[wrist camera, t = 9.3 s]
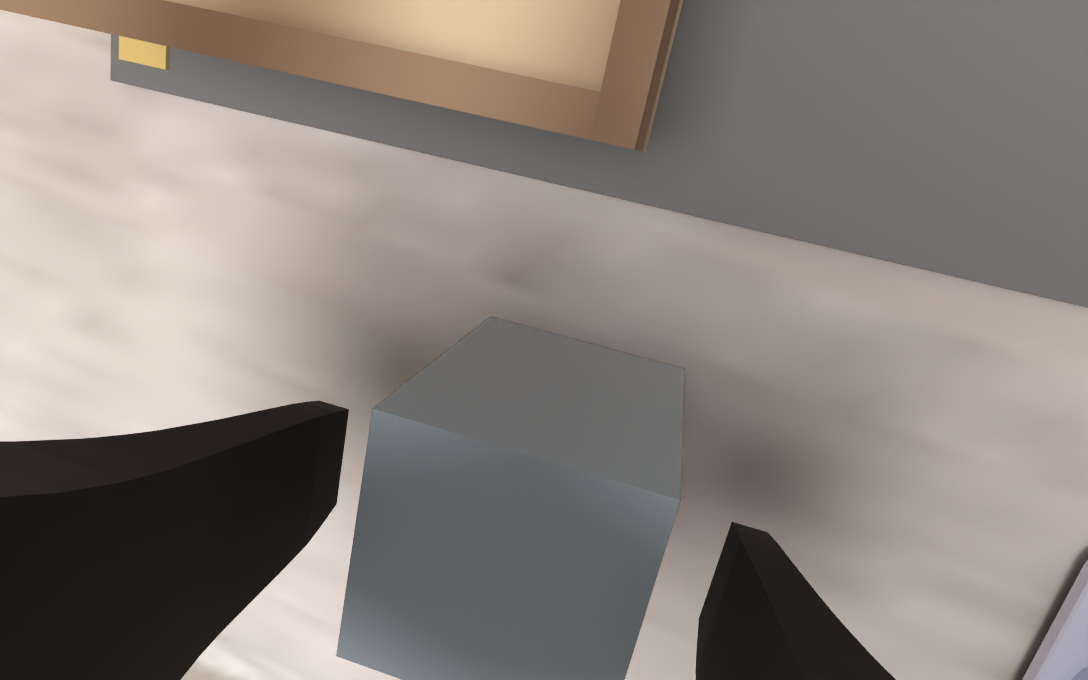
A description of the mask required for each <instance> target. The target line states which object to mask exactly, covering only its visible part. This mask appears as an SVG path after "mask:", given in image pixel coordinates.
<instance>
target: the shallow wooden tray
mask: <svg viewBox="0 0 1088 680" xmlns="http://www.w3.org/2000/svg"><path fill="white" fill-rule="evenodd" d="M682 3H683V0H0V9H1V10H5V11H10V12H14V13H19V14H23V15H28V16H32V17H37V18H41V19H46V20H50V21H55V22H59V23H64V24H68V25H73V26H77V27H82V28H86V29H91V30H95V31H100V32H105V33H109V34H114V35H118V36H123V37H127V38H132V39H136V40H141V41H145V42H150V43H154V44H159V45H163V46H168V47H172V48H177V49H181V50H186V51H190V52H195V53H199V54H204V55H208V56H213V57H218V58H222V59H227V60H231V61H236V62H240V63H245V64H249V65H254V66H258V67H263V68H267V69H272V70H276V71H281V72H285V73H290V74H294V75H299V76H303V77H308V78H312V79H317V80H322V81H326V82H331V83H335V84H340V85H344V86H349V87H353V88H358V89H362V90H367V91H371V92H376V93H380V94H385V95H389V96H394V97H398V98H403V99H407V100H412V101H416V102H421V103H425V104H430V105H435V106H439V107H444V108H448V109H453V110H457V111H462V112H466V113H471V114H475V115H480V116H484V117H489V118H493V119H498V120H502V121H507V122H511V123H516V124H520V125H525V126H529V127H534V128H539V129H543V130H548V131H552V132H557V133H561V134H566V135H570V136H575V137H579V138H584V139H588V140H593V141H597V142H602V143H606V144H611V145H615V146H620V147H624V148H629V149H633V150H638V151H643V152H646V149H647V145H648V141H649V137H650V132H651V128H652V124H653V120H654V116H655V112H656V108H657V104H658V100H659V96H660V92H661V88H662V84H663V80H664V76H665V72H666V68H667V64H668V60H669V56H670V52H671V48H672V44H673V39H674V35H675V31H676V27H677V23H678V19H679V15H680V11H681V7H682Z"/></svg>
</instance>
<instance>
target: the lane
mask: <svg viewBox="0 0 1088 680" xmlns="http://www.w3.org/2000/svg"><path fill="white" fill-rule="evenodd" d="M111 80H112V81H116V82H121V83H125V84H129V85H134V86H138V87H142V88H147V89H151V90H155V91H159V92H164V93H168V94H172V95H177V96H181V97H185V98H190V99H194V100H198V101H202V102H207V103H211V104H215V105H220V106H224V107H228V108H233V109H237V110H241V111H245V112H250V113H254V114H258V115H263V116H267V117H271V118H276V119H280V120H284V121H288V122H293V123H297V124H301V125H306V126H310V127H314V128H319V129H323V130H327V131H331V132H336V133H340V134H344V135H349V136H353V137H357V138H362V139H366V140H370V141H374V142H379V143H383V144H387V145H392V146H396V147H400V148H405V149H409V150H413V151H417V152H422V153H426V154H430V155H435V156H439V157H443V158H448V159H452V160H456V161H460V162H465V163H469V164H473V165H478V166H482V167H486V168H491V169H495V170H499V171H504V172H508V173H512V174H516V175H521V176H525V177H529V178H534V179H538V180H542V181H547V182H551V183H555V184H559V185H564V186H568V187H572V188H577V189H581V190H585V191H590V192H594V193H598V194H602V195H607V196H611V197H615V198H620V199H624V200H628V201H633V202H637V203H641V204H645V205H650V206H654V207H658V208H663V209H667V210H671V211H676V212H680V213H684V214H688V215H693V216H697V217H701V218H706V219H710V220H714V221H719V222H723V223H727V224H731V225H736V226H740V227H744V228H749V229H753V230H757V231H762V232H766V233H770V234H774V235H779V236H783V237H787V238H792V239H796V240H800V241H805V242H809V243H813V244H817V245H822V246H826V247H830V248H835V249H839V250H843V251H848V252H852V253H856V254H860V255H865V256H869V257H873V258H878V259H882V260H886V261H891V262H895V263H899V264H903V265H908V266H912V267H916V268H921V269H925V270H929V271H934V272H938V273H942V274H946V275H951V276H955V277H959V278H964V279H968V280H972V281H977V282H981V283H985V284H989V285H994V286H998V287H1002V288H1007V289H1011V290H1015V291H1020V292H1024V293H1028V294H1032V295H1037V296H1041V297H1045V298H1050V299H1054V300H1058V301H1063V302H1067V303H1071V304H1075V305H1080V306H1084V307H1088V0H683V3H682V7H681V11H680V15H679V19H678V23H677V27H676V31H675V35H674V39H673V44H672V48H671V52H670V56H669V60H668V64H667V68H666V72H665V76H664V80H663V84H662V88H661V92H660V96H659V100H658V104H657V108H656V112H655V116H654V120H653V124H652V128H651V132H650V137H649V141H648V145H647V149H646V152H643V151H638V150H633V149H629V148H624V147H620V146H615V145H611V144H606V143H602V142H597V141H593V140H588V139H584V138H579V137H575V136H570V135H566V134H561V133H557V132H552V131H548V130H543V129H539V128H534V127H529V126H525V125H520V124H516V123H511V122H507V121H502V120H498V119H493V118H489V117H484V116H480V115H475V114H471V113H466V112H462V111H457V110H453V109H448V108H444V107H439V106H435V105H430V104H425V103H421V102H416V101H412V100H407V99H403V98H398V97H394V96H389V95H385V94H380V93H376V92H371V91H367V90H362V89H358V88H353V87H349V86H344V85H340V84H335V83H331V82H326V81H322V80H317V79H312V78H308V77H303V76H299V75H294V74H290V73H285V72H281V71H276V70H272V69H267V68H263V67H258V66H254V65H249V64H245V63H240V62H236V61H231V60H227V59H222V58H218V57H213V56H208V55H204V54H199V53H195V52H190V51H186V50H181V49H177V48H172V47H168V46H163V45H159V44H154V43H150V42H145V41H141V40H136V39H132V38H127V37H123V36H118V35H114V34H111Z"/></svg>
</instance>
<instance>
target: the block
mask: <svg viewBox="0 0 1088 680" xmlns="http://www.w3.org/2000/svg"><path fill="white" fill-rule="evenodd" d="M684 370H685V369H684V368H680V367H676V366H673V365H669V364H665V363H662V362H658V361H654V360H650V359H647V358H643V357H639V356H635V355H632V354H628V353H624V352H621V351H617V350H613V349H609V348H606V347H602V346H598V345H594V344H591V343H587V342H583V341H580V340H576V339H572V338H568V337H565V336H561V335H557V334H554V333H550V332H546V331H542V330H539V329H535V328H531V327H527V326H524V325H520V324H516V323H513V322H509V321H505V320H501V319H498V318H494V317H489V318H488V319H487V320H485V321H484V322H483V323H482V324H480V325H479V326H478V327H476V328H475V329H474V330H473V331H471V332H470V333H469V334H467V335H466V336H465V337H464V338H462V339H461V340H460V341H458V342H457V343H456V344H455V345H453V346H452V347H451V348H450V349H448V350H447V351H446V352H444V353H443V354H442V355H441V356H439V357H438V358H437V359H435V360H434V361H433V362H432V363H430V364H429V365H428V366H426V367H425V368H424V369H423V370H421V371H420V372H419V373H417V374H416V375H415V376H414V377H412V378H411V379H410V380H408V381H407V382H406V383H405V384H403V385H402V386H401V387H400V388H398V389H397V390H396V391H394V392H393V393H392V394H391V395H389V396H388V397H387V398H385V399H384V400H383V401H382V402H380V403H379V404H378V405H376V406H375V407H374V408H373V409H372V415H371V422H370V429H369V436H368V443H367V450H366V456H365V463H364V470H363V477H362V484H361V491H360V497H359V504H358V511H357V518H356V525H355V532H354V538H353V545H352V552H351V559H350V566H349V573H348V580H347V586H346V593H345V600H344V607H343V614H342V621H341V627H340V634H339V641H338V648H337V655H336V656H338V657H341V658H343V659H346V660H349V661H352V662H355V663H357V664H360V665H363V666H366V667H369V668H371V669H374V670H377V671H380V672H383V673H385V674H388V675H391V676H394V677H397V678H399V679H402V680H624V679H625V676H626V673H627V670H628V667H629V663H630V660H631V657H632V654H633V651H634V647H635V644H636V641H637V638H638V635H639V631H640V628H641V625H642V622H643V619H644V615H645V612H646V609H647V606H648V603H649V600H650V596H651V593H652V590H653V587H654V584H655V580H656V577H657V574H658V571H659V568H660V564H661V561H662V558H663V555H664V552H665V548H666V545H667V542H668V539H669V536H670V532H671V529H672V526H673V523H674V520H675V517H676V513H677V510H678V507H679V504H680V501H681V471H682V437H683V403H684Z"/></svg>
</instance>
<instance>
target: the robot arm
mask: <svg viewBox="0 0 1088 680" xmlns="http://www.w3.org/2000/svg"><path fill="white" fill-rule="evenodd" d="M348 412H349V409H345V408H342V407H339V406H335V405H332V404H328V403H325V402H321V401H311V402H303V403H297V404H291V405H286V406H281V407H276V408H271V409H267V410H262V411H257V412H252V413H248V414H243V415H238V416H234V417H229V418H224V419H219V420H214V421H208V422H203V423H197V424H192V425H186V426H181V427H175V428H169V429H164V430H157V431H151V432H143V433H135V434H127V435H117V436H107V437H98V438H85V439H65V440H42V441H18V442H0V680H181V678H182V677H183V676H184V674H185V673H186V672H187V671H188V670H189V668H190V667H191V666H192V665H193V663H194V662H195V661H196V660H197V658H198V657H199V656H200V655H201V654H202V652H203V651H204V650H205V649H206V648H207V647H208V646H209V645H210V644H211V643H212V641H213V640H214V639H215V638H216V637H217V636H218V635H219V634H220V633H221V632H222V631H223V630H224V629H225V628H226V627H227V626H228V625H229V623H230V622H231V621H232V620H233V619H234V618H235V617H236V616H237V615H238V614H239V613H240V612H241V611H242V610H243V609H244V608H245V607H246V606H247V605H248V604H249V603H250V602H251V601H252V600H253V599H254V598H255V597H256V596H257V595H258V594H259V593H260V592H261V591H262V590H263V589H264V588H265V587H266V586H267V585H268V584H269V583H270V582H271V581H272V580H273V579H274V578H275V577H276V576H277V575H278V574H279V573H280V572H281V571H282V570H283V569H284V568H285V567H286V566H287V565H288V564H289V563H290V562H291V561H292V560H293V558H294V557H295V556H296V555H297V554H298V553H299V552H300V551H301V550H302V549H303V548H304V547H305V546H306V545H307V544H308V542H309V541H310V540H311V538H312V537H313V536H314V534H315V533H316V532H317V530H318V529H319V528H320V526H321V525H322V524H323V522H324V521H325V519H326V518H327V517H328V515H329V514H330V512H331V511H332V509H333V508H334V507H335V505H336V503H337V496H338V488H339V481H340V473H341V465H342V458H343V450H344V443H345V435H346V427H347V420H348ZM696 680H896V679H895V678H894V677H893V676H892V675H890V674H889V673H888V672H887V671H886V670H885V669H884V668H883V667H882V666H881V665H880V664H879V663H878V662H877V661H876V660H875V659H874V658H873V656H872V655H871V654H870V653H869V652H868V651H867V650H866V649H865V648H864V647H863V646H862V645H861V644H860V642H859V641H858V640H857V639H856V638H855V637H854V636H853V635H852V634H851V633H850V632H849V630H848V629H847V628H846V627H845V626H844V625H843V624H842V623H841V621H840V620H839V619H838V618H837V617H836V616H835V614H834V613H833V612H832V611H831V610H830V609H829V607H828V606H827V605H826V604H825V603H824V601H823V600H822V599H821V598H820V597H819V595H818V594H817V593H816V592H815V590H814V589H813V588H812V587H811V585H810V584H809V583H808V582H807V580H806V579H805V578H804V577H803V575H802V574H801V573H800V572H799V570H798V569H797V568H796V566H795V565H794V564H793V563H792V561H791V560H790V559H789V557H788V556H787V555H786V554H785V552H784V551H783V550H782V549H781V547H780V546H779V545H778V544H777V542H776V541H775V540H774V539H773V538H772V537H771V536H770V534H769V533H768V532H765V531H761V530H758V529H754V528H751V527H748V526H744V525H741V524H737V523H734V522H732V523H731V526H730V529H729V532H728V535H727V538H726V541H725V544H724V547H723V550H722V553H721V556H720V558H719V561H718V564H717V567H716V570H715V573H714V576H713V579H712V582H711V585H710V588H709V591H708V594H707V597H706V600H705V603H704V605H703V608H702V611H701V614H700V617H699V627H698V640H697V655H696ZM1022 680H1088V560H1087V561H1086V563H1085V564H1084V565H1083V567H1082V569H1081V571H1080V573H1079V575H1078V577H1077V578H1076V580H1075V582H1074V584H1073V586H1072V588H1071V590H1070V591H1069V593H1068V595H1067V597H1066V599H1065V601H1064V603H1063V604H1062V606H1061V608H1060V610H1059V612H1058V614H1057V616H1056V618H1055V619H1054V621H1053V623H1052V625H1051V627H1050V629H1049V631H1048V632H1047V634H1046V636H1045V638H1044V640H1043V642H1042V644H1041V646H1040V647H1039V649H1038V651H1037V653H1036V655H1035V657H1034V659H1033V660H1032V662H1031V664H1030V666H1029V668H1028V670H1027V672H1026V673H1025V675H1024V677H1023V679H1022Z"/></svg>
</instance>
